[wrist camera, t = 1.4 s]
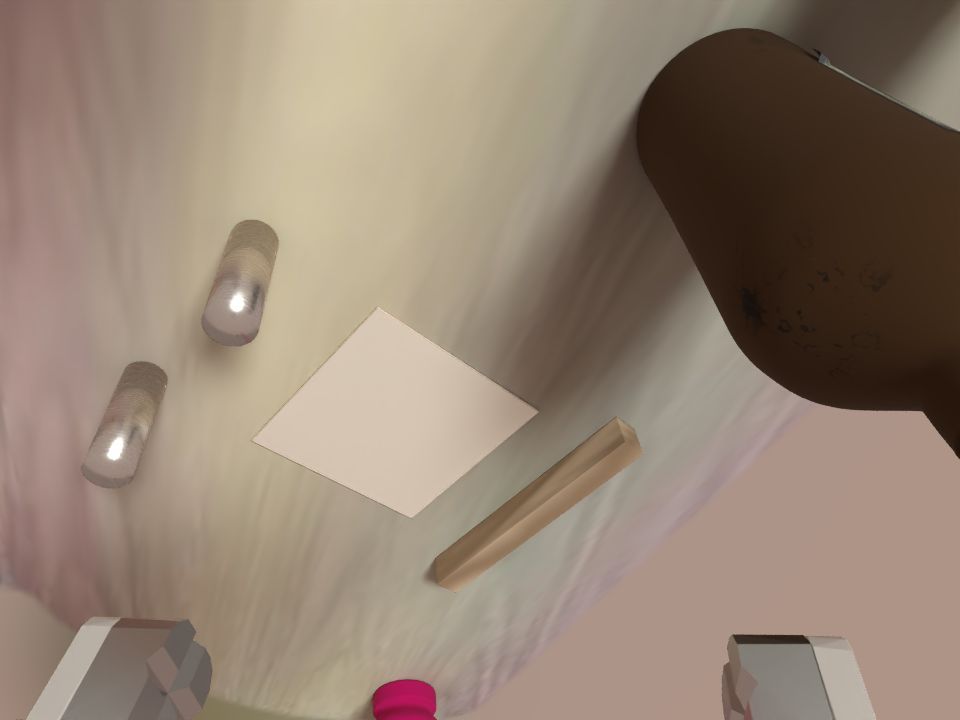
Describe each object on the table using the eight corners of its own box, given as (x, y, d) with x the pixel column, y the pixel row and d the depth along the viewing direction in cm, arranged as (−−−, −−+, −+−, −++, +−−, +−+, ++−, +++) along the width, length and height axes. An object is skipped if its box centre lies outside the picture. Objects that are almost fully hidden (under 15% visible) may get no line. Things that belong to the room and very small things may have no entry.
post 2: (221, 243, 41) (191, 328, 34) (246, 211, 40) (220, 292, 33) (262, 269, 42) (240, 355, 36) (288, 237, 41) (269, 320, 35)
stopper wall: (435, 558, 60) (436, 584, 58) (616, 416, 52) (625, 441, 50) (453, 566, 61) (455, 592, 59) (634, 429, 53) (643, 453, 51)
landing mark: (252, 438, 50) (251, 440, 50) (377, 306, 44) (377, 308, 44) (411, 516, 57) (411, 518, 57) (538, 410, 51) (538, 412, 51)
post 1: (115, 380, 46) (73, 475, 40) (135, 354, 45) (94, 448, 39) (155, 399, 47) (119, 494, 41) (175, 374, 46) (141, 468, 40)
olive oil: (673, 242, 43) (901, 619, 24) (588, 97, 38) (801, 443, 18) (845, 140, 40) (1267, 477, 21) (783, -35, 34) (1291, 209, 15)
